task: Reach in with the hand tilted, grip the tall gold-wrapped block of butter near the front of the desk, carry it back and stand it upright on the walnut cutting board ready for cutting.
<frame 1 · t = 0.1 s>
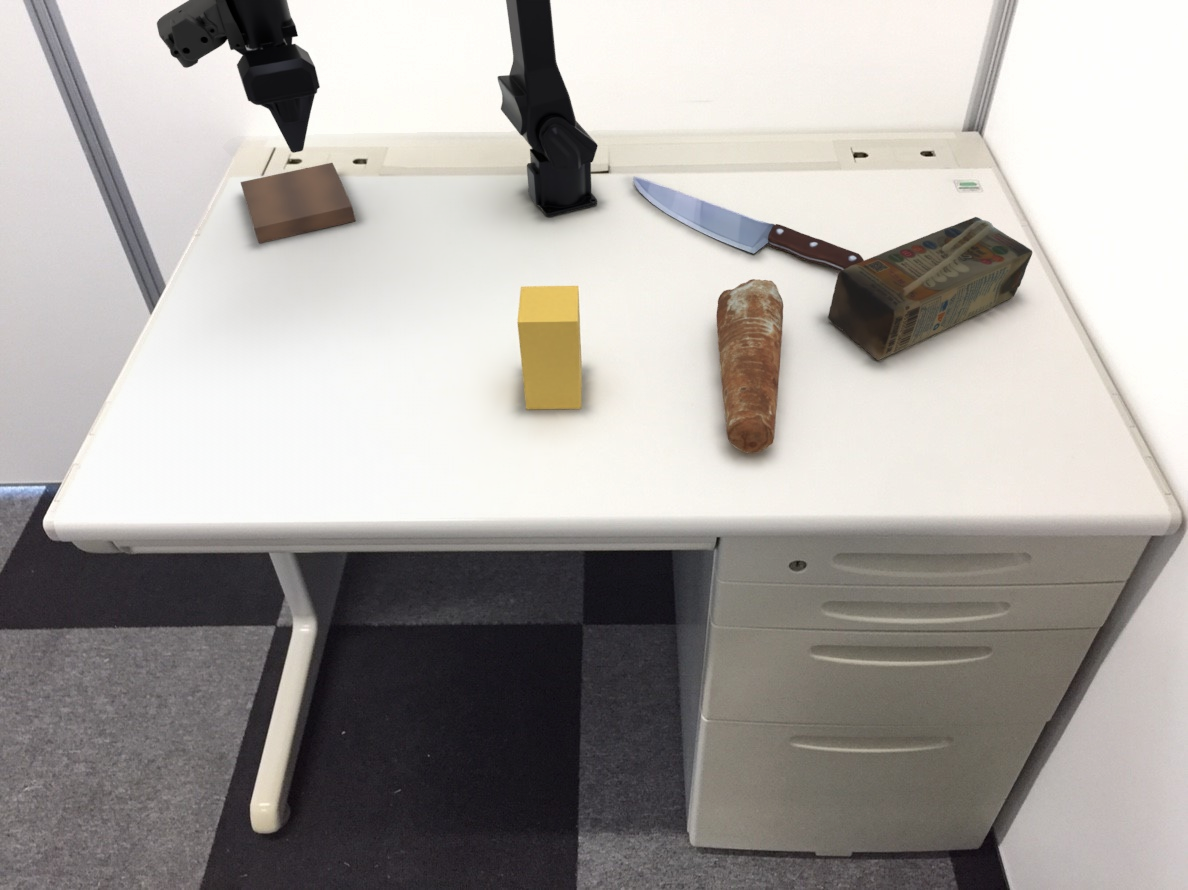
hand: (288, 130, 90), 15 cm above the table, tool pointing down, fingers open, 9 cm apart
cutting board: (299, 208, 108), on the table
orange-brown tapered rod: (753, 388, 85), on the table
kitchen knife: (739, 228, 103), on the table
beverage carton: (921, 312, 92), on the table
butter: (554, 390, 85), on the table
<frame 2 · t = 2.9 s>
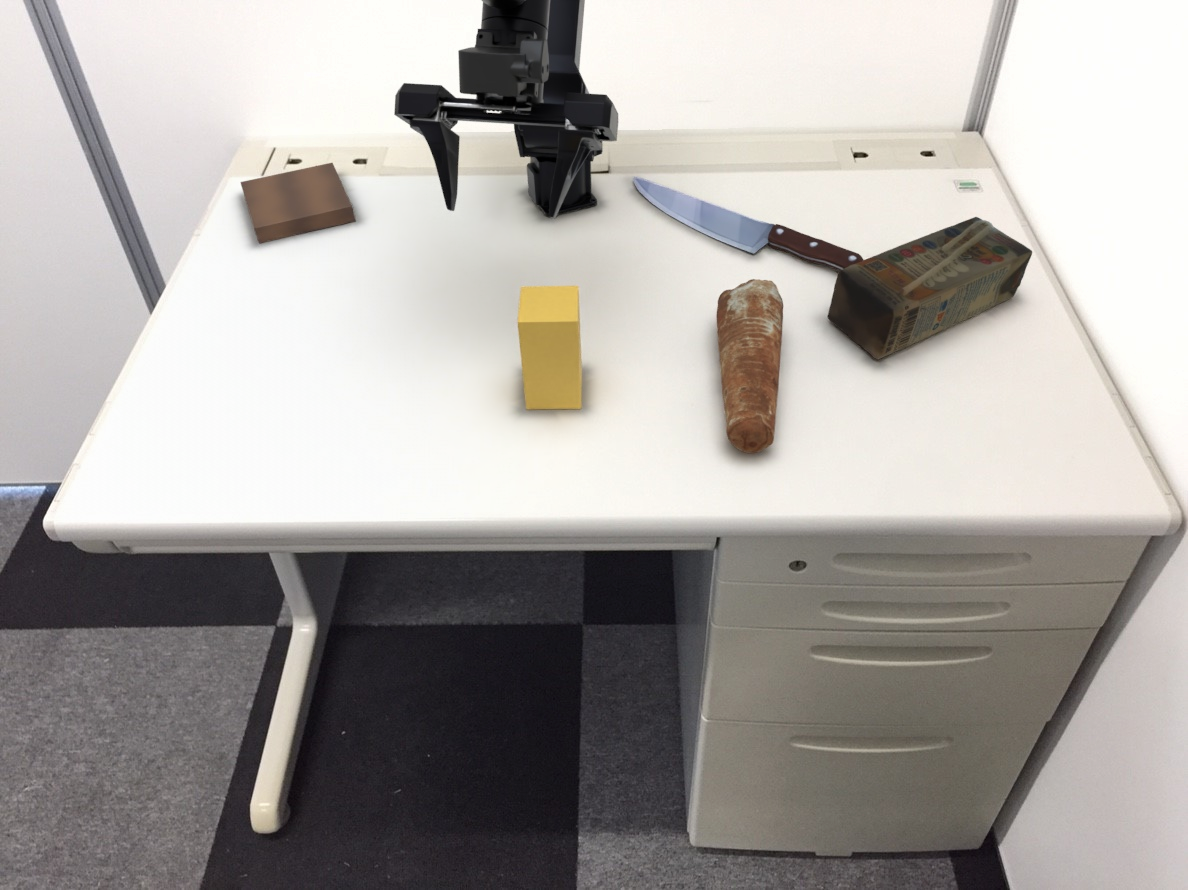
hand: (500, 214, 81), 14 cm above the table, tool tilted 40°, fingers open, 9 cm apart
nothing on the table moved.
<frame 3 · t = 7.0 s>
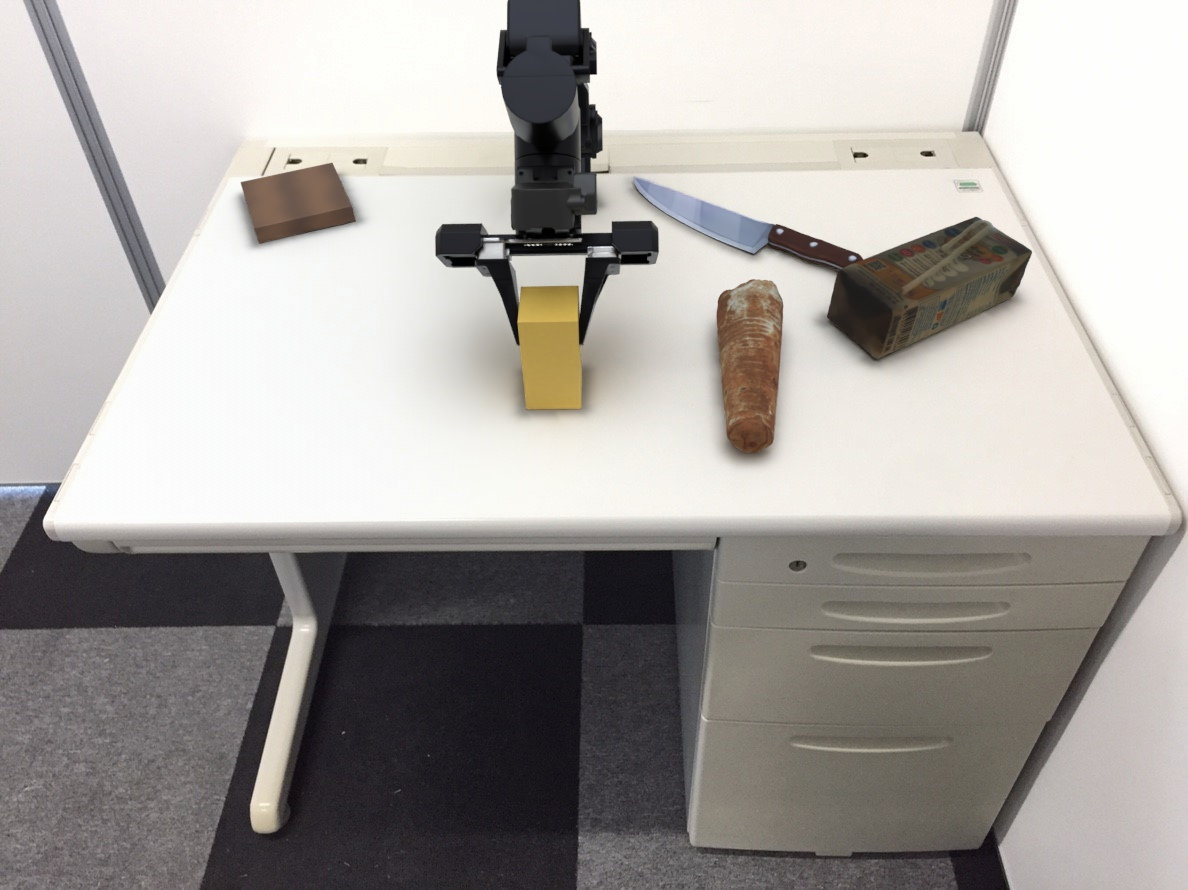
hand: (549, 345, 79), 7 cm above the table, tool tilted 45°, fingers closed on butter, 5 cm apart
butter: (554, 390, 85), on the table, touching gripper
everything else where it was.
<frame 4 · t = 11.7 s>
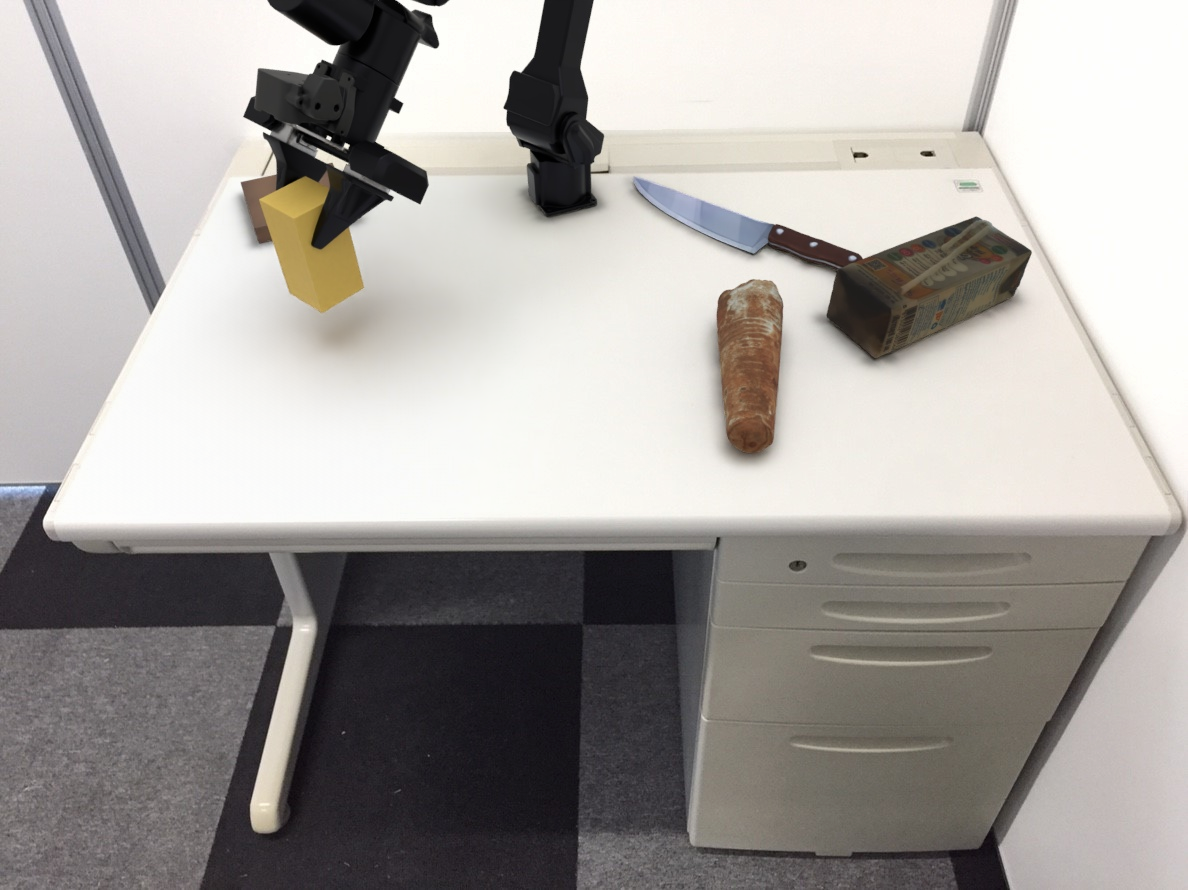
hand: (297, 237, 81), 12 cm above the table, tool tilted 45°, fingers closed on butter, 5 cm apart
butter: (326, 290, 87), point 6 cm above the table, touching gripper
everything else where it was.
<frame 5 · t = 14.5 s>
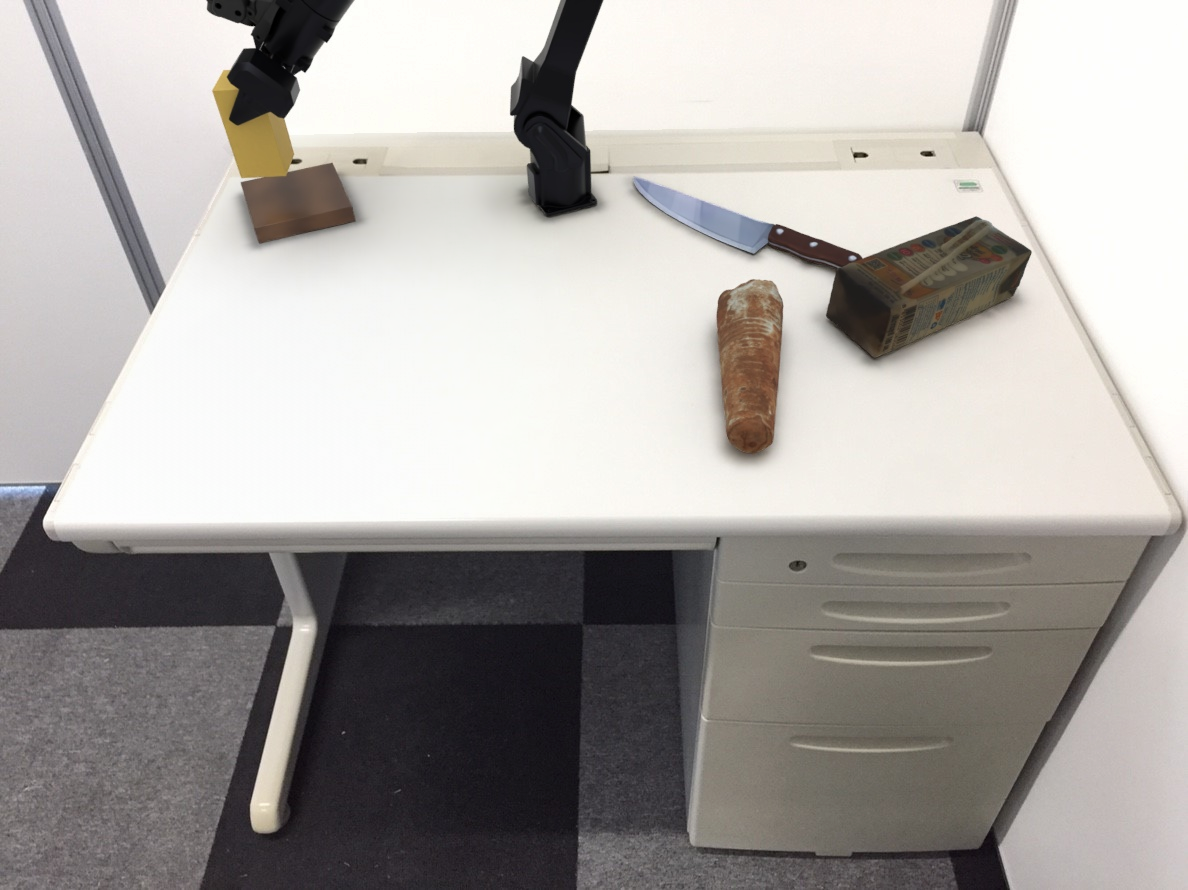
hand: (238, 110, 99), 12 cm above the table, tool tilted 45°, fingers closed on butter, 5 cm apart
butter: (268, 166, 103), point 6 cm above the table, touching gripper
everything else where it was.
when the fingers open (9 cm above the table, at t = 16.5 s): butter stays where it is, resting on cutting board.
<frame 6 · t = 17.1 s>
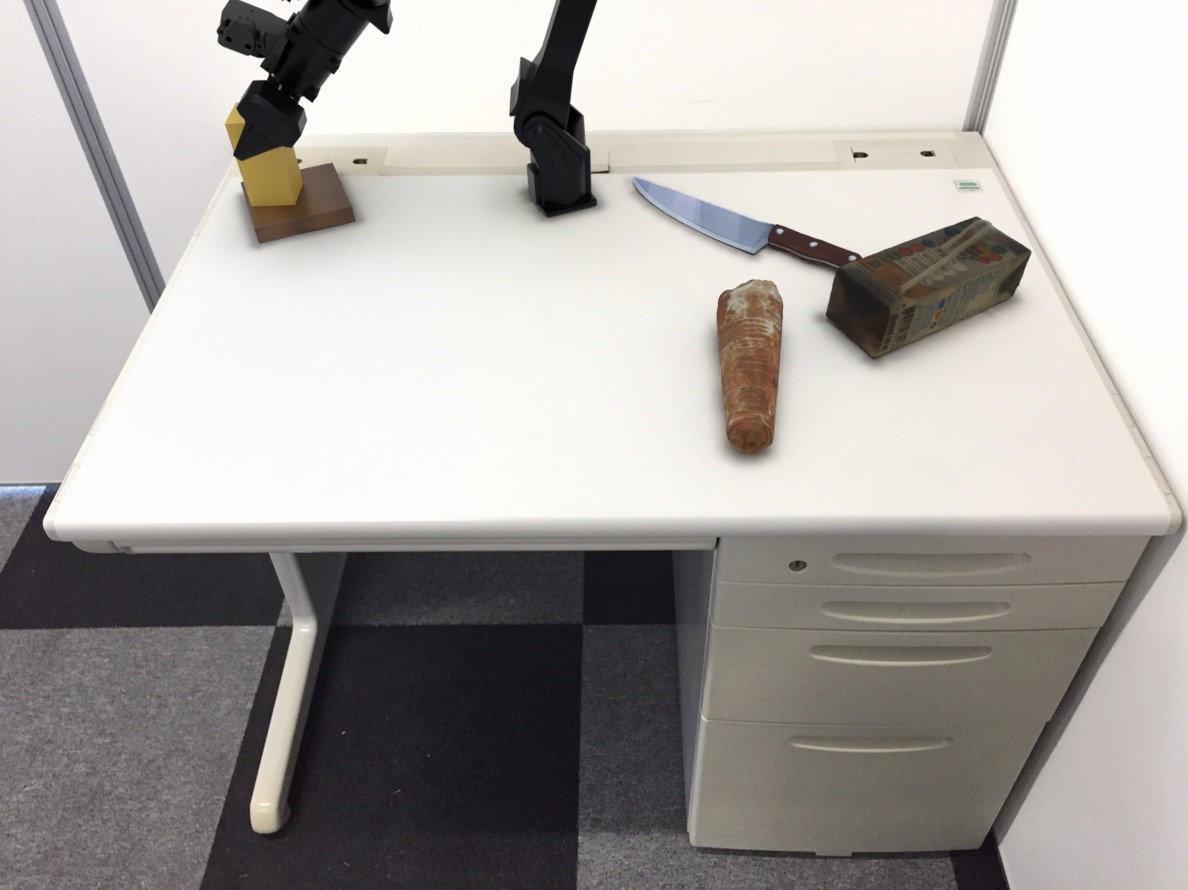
hand: (247, 137, 101), 9 cm above the table, tool tilted 45°, fingers open, 9 cm apart
butter: (277, 194, 106), point 2 cm above the table, touching cutting board
everything else where it was.
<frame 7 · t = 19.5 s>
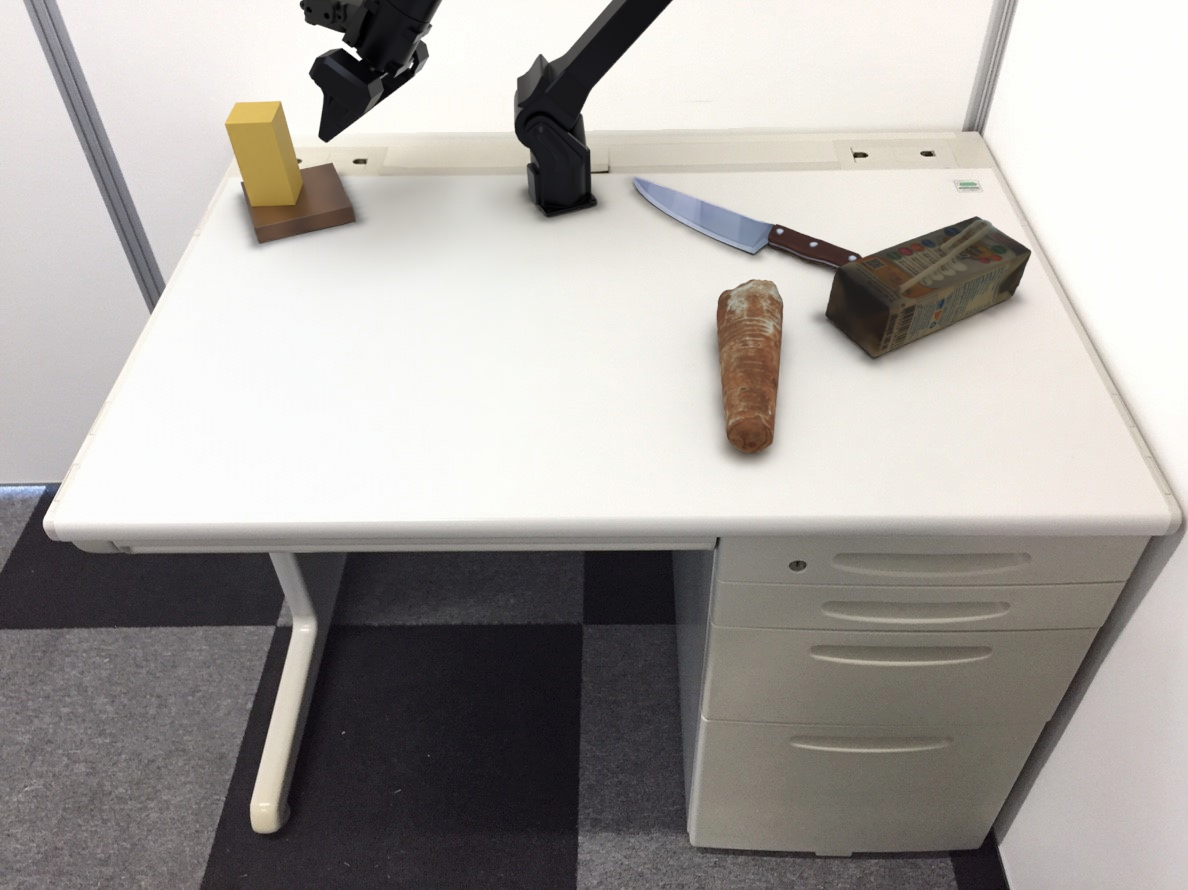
hand: (340, 126, 100), 10 cm above the table, tool tilted 35°, fingers open, 9 cm apart
nothing on the table moved.
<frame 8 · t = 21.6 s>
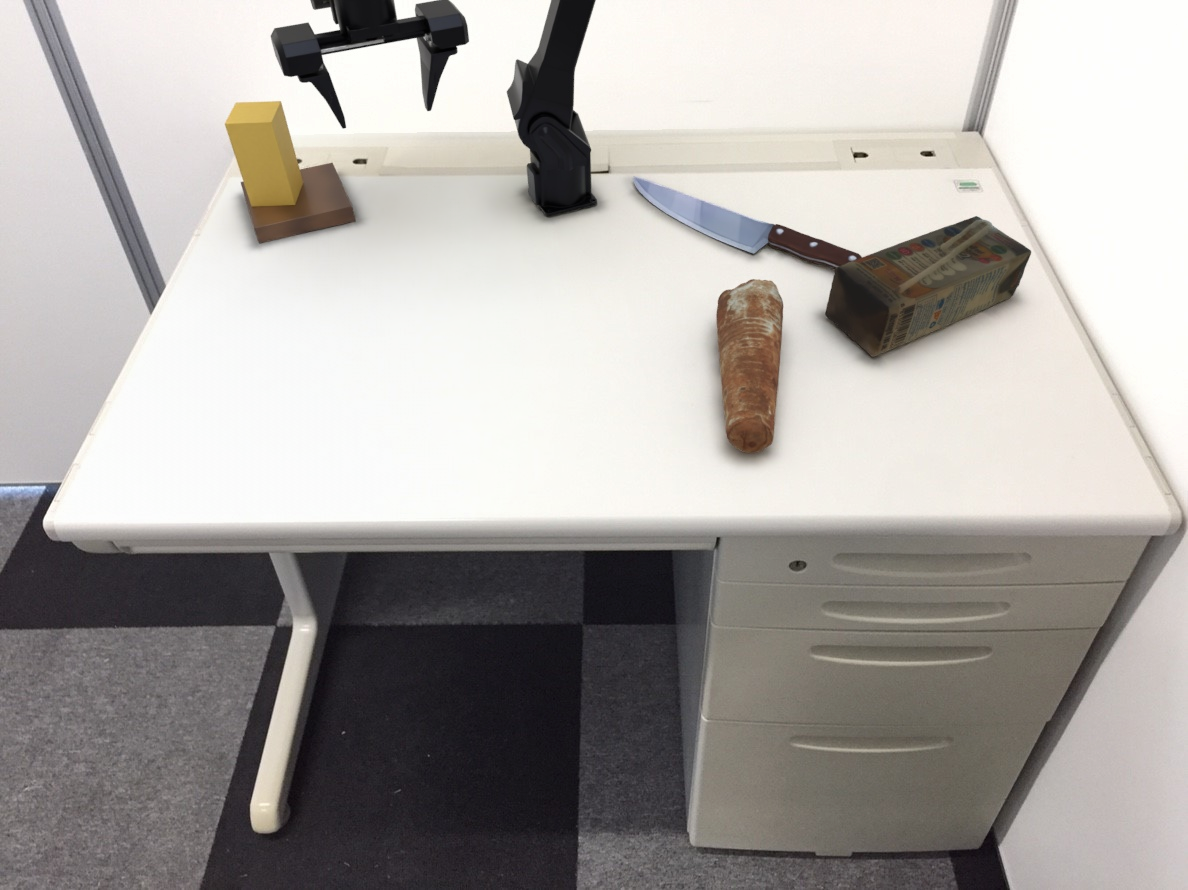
hand: (386, 118, 98), 12 cm above the table, tool pointing down, fingers open, 9 cm apart
nothing on the table moved.
at the end: butter inside the target area on the cutting board (2.0 cm from its centre), point 2.0 cm above the cutting board's base; butter tilted 0°; the gripper is holding nothing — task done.
